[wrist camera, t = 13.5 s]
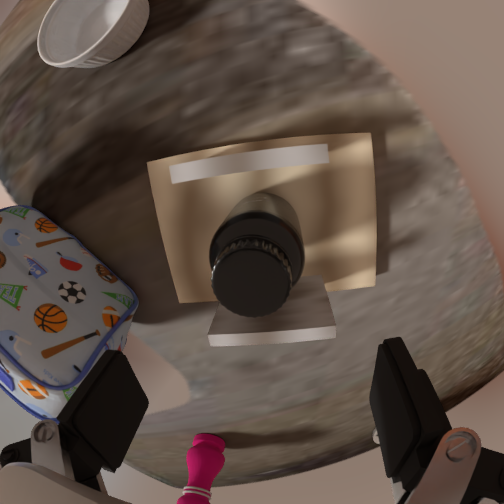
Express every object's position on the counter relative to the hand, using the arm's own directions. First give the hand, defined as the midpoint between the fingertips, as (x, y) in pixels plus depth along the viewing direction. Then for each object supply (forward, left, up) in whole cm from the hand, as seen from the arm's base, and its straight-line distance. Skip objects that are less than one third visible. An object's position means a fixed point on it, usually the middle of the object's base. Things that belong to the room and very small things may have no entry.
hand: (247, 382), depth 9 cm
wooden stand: (0, 0, -22) cm, 22 cm away
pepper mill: (+16, +42, -22) cm, 50 cm away
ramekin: (+15, -27, -22) cm, 38 cm away
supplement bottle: (+1, 0, -20) cm, 20 cm away
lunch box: (+28, +2, -22) cm, 36 cm away
